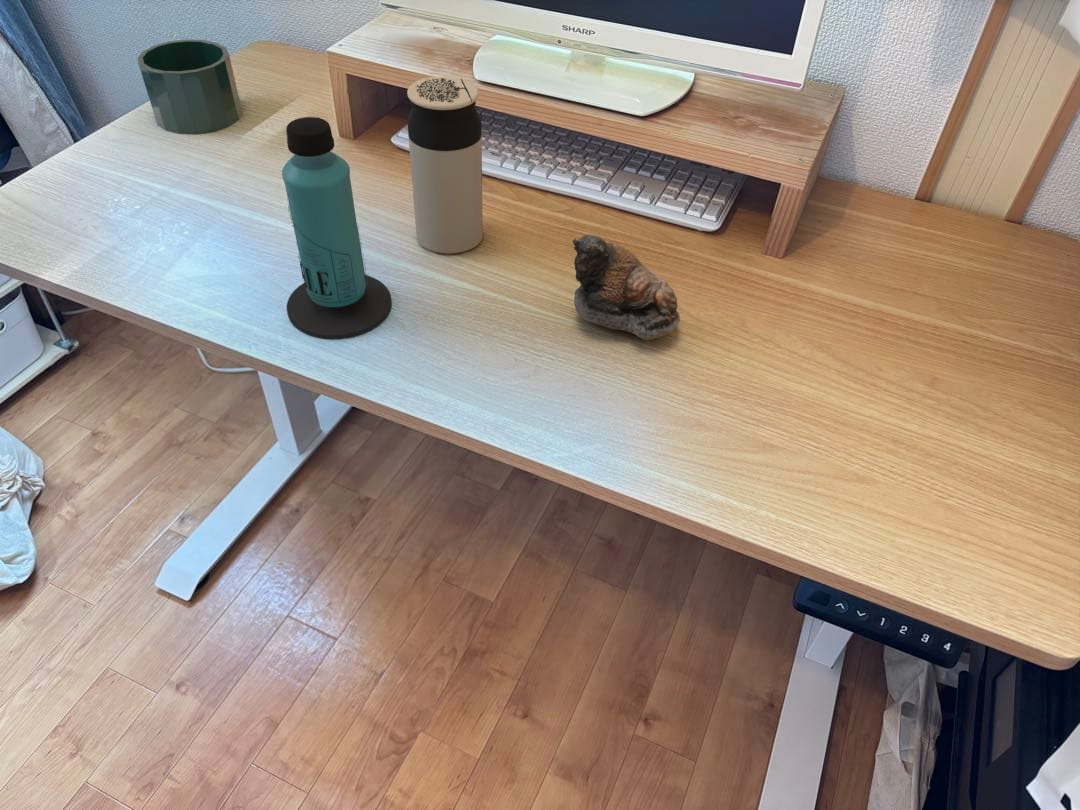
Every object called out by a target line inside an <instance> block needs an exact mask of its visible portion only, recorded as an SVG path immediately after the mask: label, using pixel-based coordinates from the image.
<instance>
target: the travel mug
mask: <svg viewBox="0 0 1080 810" xmlns="http://www.w3.org/2000/svg"><path fill="white" fill-rule="evenodd" d="M406 91H407V92H406V93H407V94H406V95H407V98H408V99H409V100H410V103H411V110H410V112H409V115H408V116H407V119H406V120H407V121H406V123H407V135H408V148H409V149H408V150H409V160H410V169H411V170H410V175H411V186H412V187H411V188H412V197H413V210H414V211H413V212H414V220H415V221H414V223H415V236H416V240H417V241H418V243H419V244H420V245H421V246H422V247H424V249H427V250H429V251H431V252H435V253H439V254H458V253H463V252H467V251H469V250H471V249H474V248H475V247H477V246H478V245H479V244H480V243H481V241H482V240H483V237H484V229H483V227H484V223H483V222H484V221H483V216H484V215H483V213H484V211H483V138H482V136H483V134H482V132H483V128H482V124H483V123H482V117H481V115H480V113H479V111H478V110H477V108H476V103H477V100H478V98H479V96H480V91H479V88H478V86H477V85H475V84H474V83H473V82H471V81H469V80H467V79H465V78H460V77H456V76H450V75H449V76H447V75H439V76H438V75H437V76H430V77H425V78H421V79H419V80H416V81H414V82H413V83H412V84H410V85H409V87H407V90H406Z"/></svg>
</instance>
